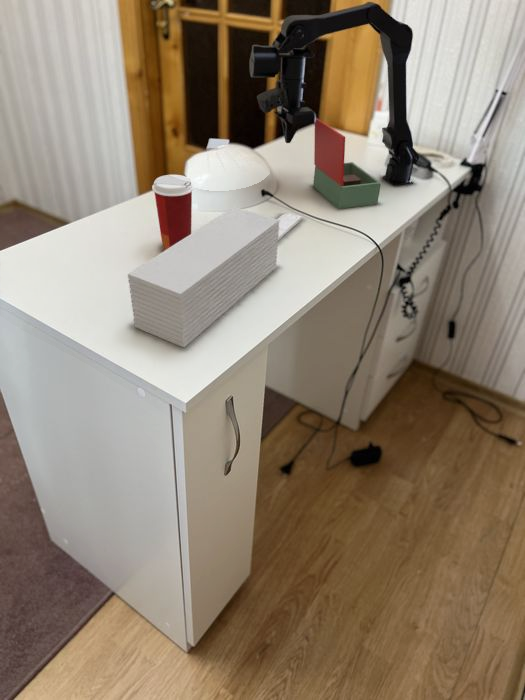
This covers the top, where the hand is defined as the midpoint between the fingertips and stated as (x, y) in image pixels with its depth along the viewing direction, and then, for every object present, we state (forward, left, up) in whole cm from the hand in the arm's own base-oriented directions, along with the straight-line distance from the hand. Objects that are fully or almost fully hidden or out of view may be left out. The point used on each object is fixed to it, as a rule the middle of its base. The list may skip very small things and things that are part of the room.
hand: (287, 142), depth 139 cm
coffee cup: (+37, +27, -12) cm, 47 cm away
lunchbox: (-13, +11, -11) cm, 20 cm away
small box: (+17, -6, -12) cm, 22 cm away
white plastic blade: (+12, +25, -11) cm, 30 cm away
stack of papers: (+35, +47, -12) cm, 60 cm away
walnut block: (-14, +11, -11) cm, 21 cm away
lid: (-7, +11, +1) cm, 13 cm away
